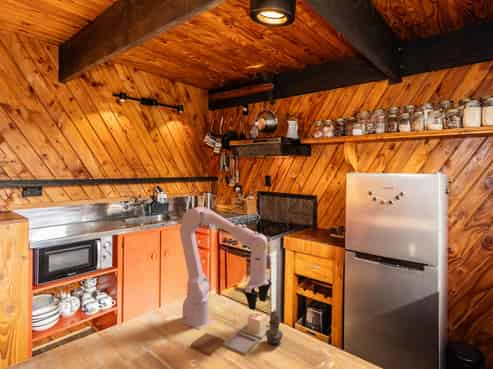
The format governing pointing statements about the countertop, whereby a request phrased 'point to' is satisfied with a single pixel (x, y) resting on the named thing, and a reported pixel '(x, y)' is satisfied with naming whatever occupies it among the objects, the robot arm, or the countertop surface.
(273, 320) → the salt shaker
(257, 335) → the tray sage
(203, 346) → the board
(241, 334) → the tray grey
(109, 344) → the countertop surface
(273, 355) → the countertop surface
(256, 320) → the letter cube
